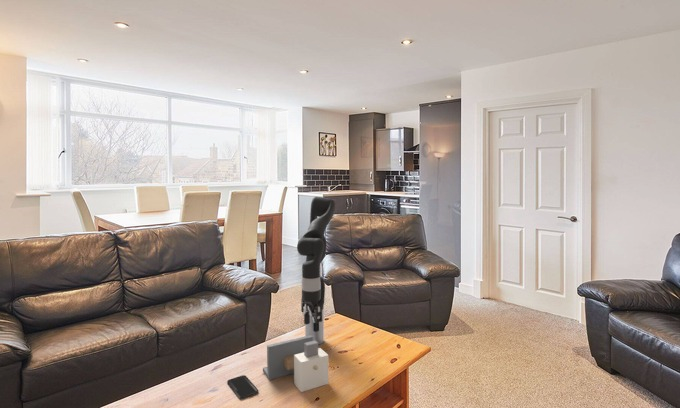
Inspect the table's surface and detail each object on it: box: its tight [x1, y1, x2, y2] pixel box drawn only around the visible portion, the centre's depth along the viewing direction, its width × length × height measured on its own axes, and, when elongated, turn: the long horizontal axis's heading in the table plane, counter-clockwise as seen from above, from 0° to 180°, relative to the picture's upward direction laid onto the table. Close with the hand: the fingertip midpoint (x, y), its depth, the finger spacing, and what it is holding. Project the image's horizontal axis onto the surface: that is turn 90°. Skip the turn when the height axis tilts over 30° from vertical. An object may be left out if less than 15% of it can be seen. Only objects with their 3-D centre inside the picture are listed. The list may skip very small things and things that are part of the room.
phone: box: [226, 374, 259, 400], centre depth 148 cm, size 8×1×15 cm
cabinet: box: [293, 341, 329, 393], centre depth 150 cm, size 8×12×17 cm, turn 120°
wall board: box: [262, 335, 313, 381], centre depth 159 cm, size 12×20×14 cm, turn 120°
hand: (311, 327), depth 149 cm, fingers open, 8 cm apart
